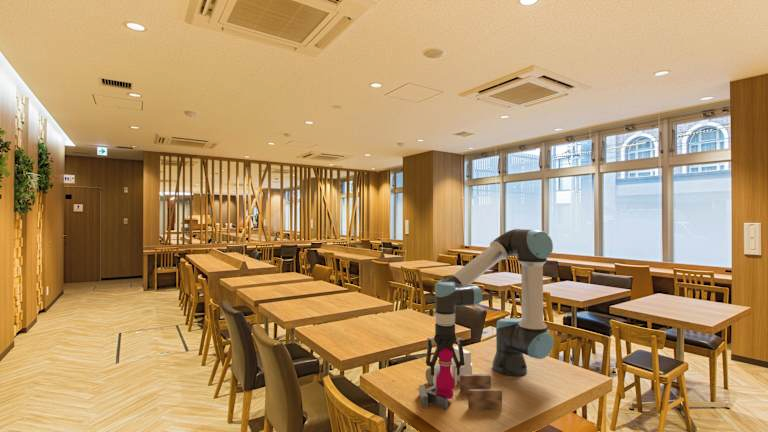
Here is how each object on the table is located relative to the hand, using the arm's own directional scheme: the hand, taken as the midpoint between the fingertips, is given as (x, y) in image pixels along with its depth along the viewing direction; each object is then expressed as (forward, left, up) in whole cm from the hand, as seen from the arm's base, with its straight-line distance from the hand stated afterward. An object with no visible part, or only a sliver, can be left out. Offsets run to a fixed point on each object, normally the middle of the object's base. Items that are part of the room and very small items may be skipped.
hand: (444, 383), depth 151 cm
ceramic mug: (-1, -14, -7) cm, 16 cm away
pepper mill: (0, 0, -5) cm, 5 cm away
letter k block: (+4, 0, -7) cm, 8 cm away
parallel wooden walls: (-14, 0, -7) cm, 15 cm away
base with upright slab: (-12, -22, -7) cm, 26 cm away
